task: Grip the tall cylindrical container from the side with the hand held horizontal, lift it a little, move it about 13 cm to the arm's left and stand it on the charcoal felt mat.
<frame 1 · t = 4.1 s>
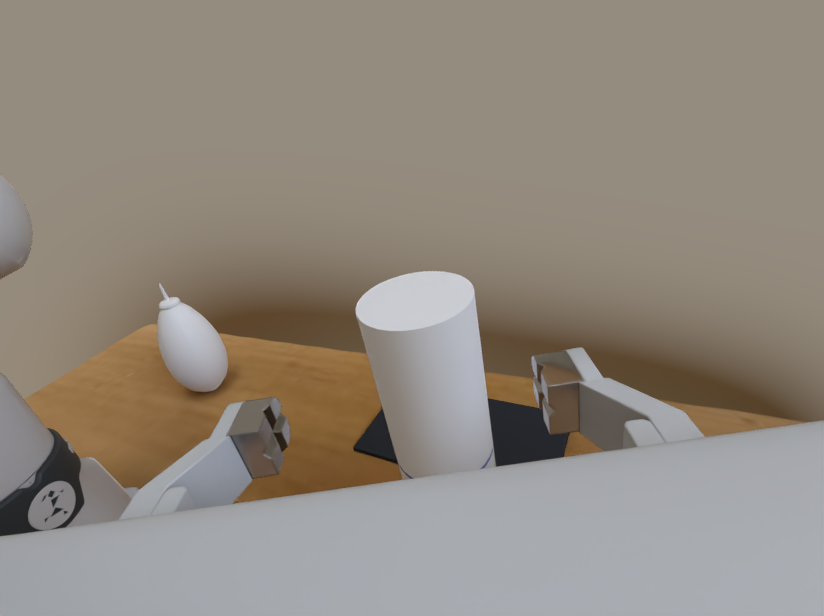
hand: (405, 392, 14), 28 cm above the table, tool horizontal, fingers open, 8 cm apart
felt mat: (461, 434, 49), on the table
cylindrical container: (464, 547, 38), on the table
white bulb air blower: (213, 388, 66), on the table
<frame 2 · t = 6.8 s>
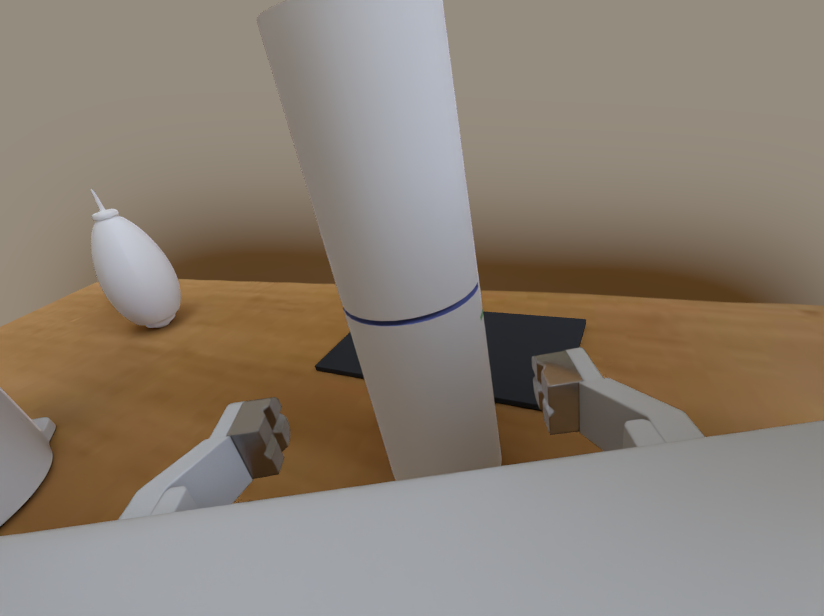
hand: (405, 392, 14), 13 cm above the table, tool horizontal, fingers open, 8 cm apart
felt mat: (448, 347, 40), on the table
cylindrical container: (446, 461, 28), on the table
white bulb air blower: (163, 325, 57), on the table
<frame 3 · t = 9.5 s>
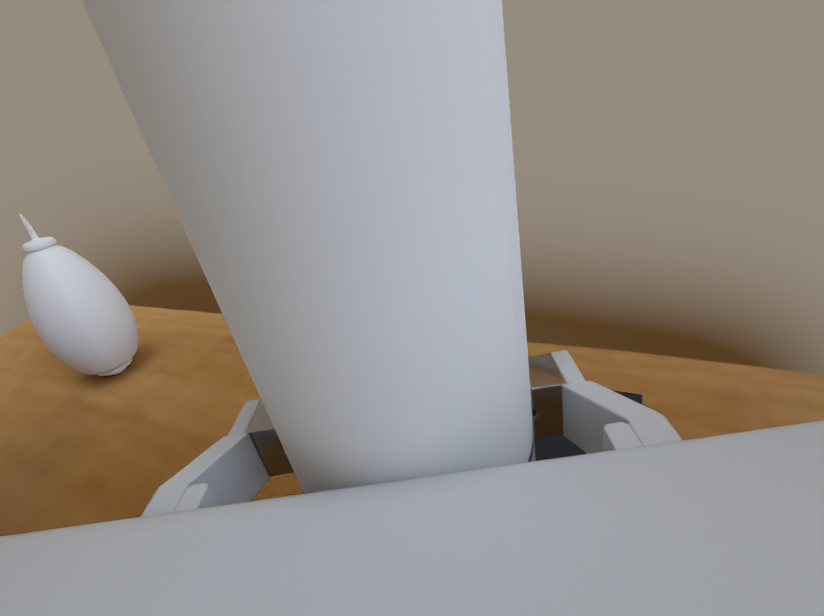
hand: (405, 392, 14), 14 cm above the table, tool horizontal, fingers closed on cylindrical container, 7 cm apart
felt mat: (461, 428, 30), on the table
white bulb air blower: (118, 371, 48), on the table
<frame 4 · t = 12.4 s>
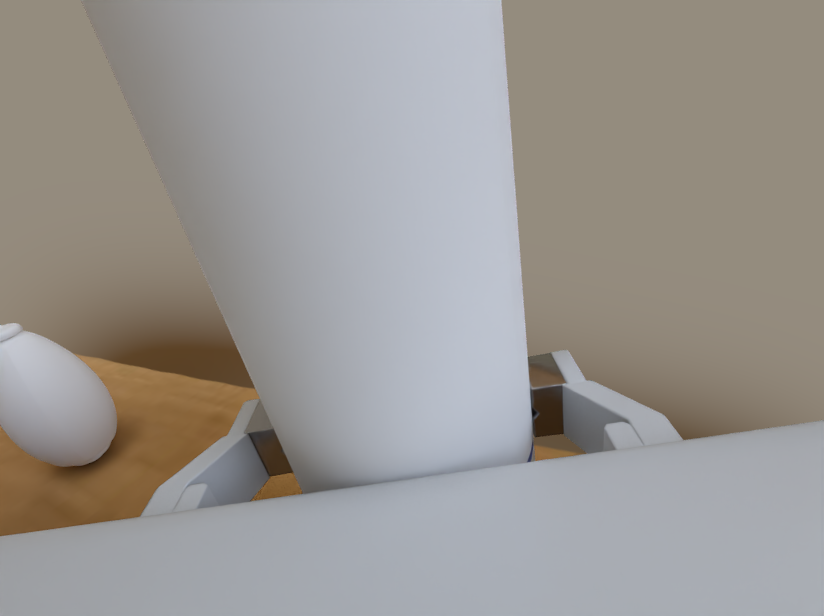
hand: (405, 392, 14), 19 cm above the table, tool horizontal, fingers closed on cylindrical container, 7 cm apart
white bulb air blower: (95, 457, 44), on the table
when the fingers open (14 cm above the table, at t = 15.4 s): cylindrical container stays where it is, resting on felt mat.
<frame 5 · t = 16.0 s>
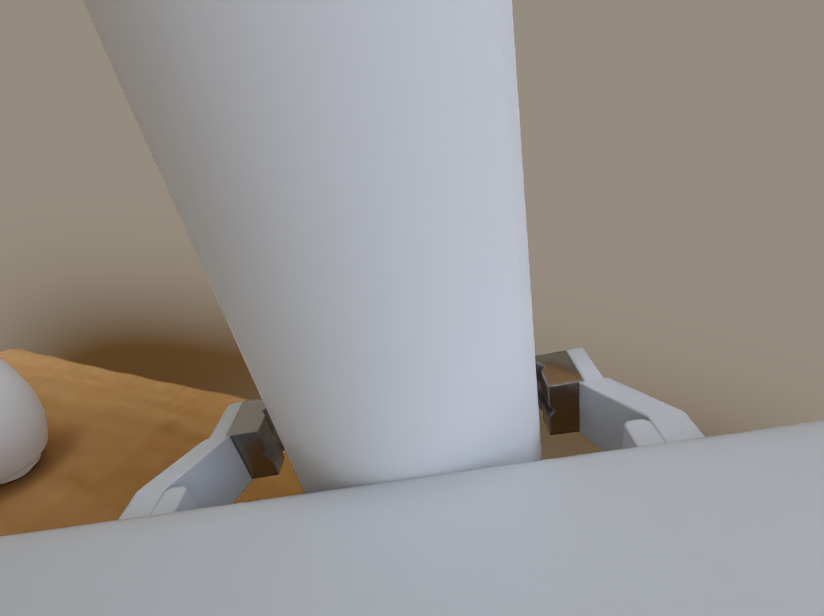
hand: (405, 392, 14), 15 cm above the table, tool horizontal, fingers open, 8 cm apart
white bulb air blower: (21, 473, 37), on the table
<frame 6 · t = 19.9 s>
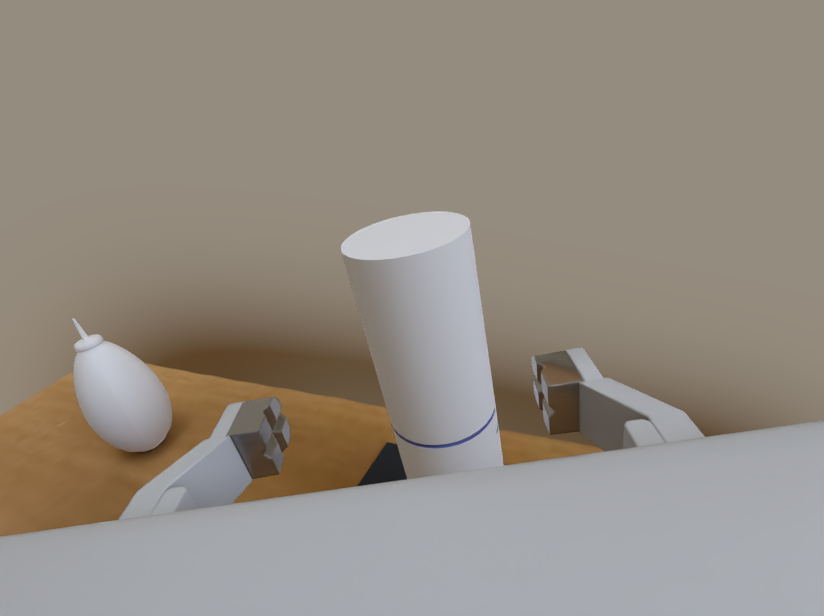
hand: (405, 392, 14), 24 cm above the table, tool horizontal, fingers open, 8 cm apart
felt mat: (465, 528, 35), on the table
cylindrical container: (467, 527, 35), resting on felt mat
white bulb air blower: (154, 445, 53), on the table
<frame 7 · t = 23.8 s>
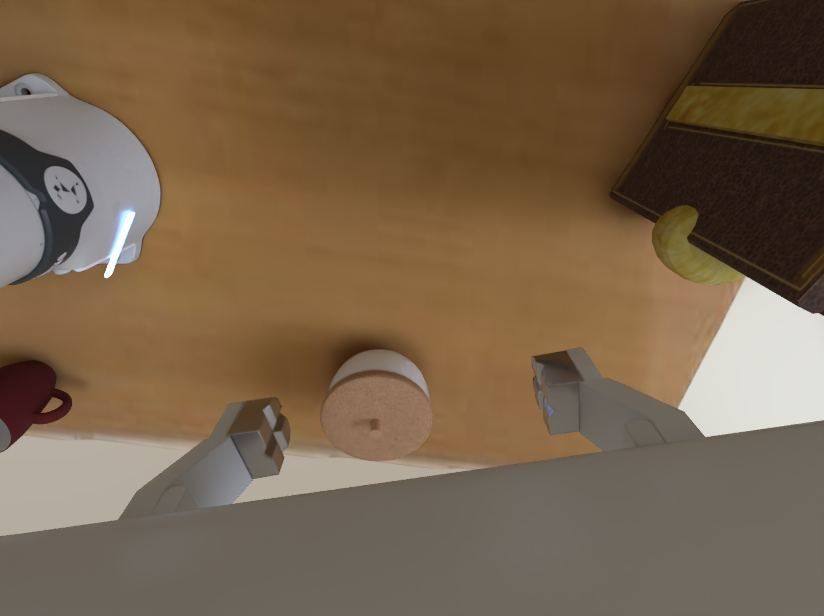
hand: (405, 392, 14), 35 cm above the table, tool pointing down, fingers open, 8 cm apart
book: (682, 132, 43), on the table
lidded bowl: (381, 372, 57), on the table
mug: (51, 373, 56), on the table
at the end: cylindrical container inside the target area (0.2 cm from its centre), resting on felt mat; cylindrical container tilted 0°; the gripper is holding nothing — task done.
